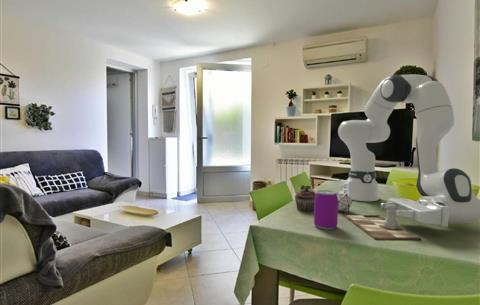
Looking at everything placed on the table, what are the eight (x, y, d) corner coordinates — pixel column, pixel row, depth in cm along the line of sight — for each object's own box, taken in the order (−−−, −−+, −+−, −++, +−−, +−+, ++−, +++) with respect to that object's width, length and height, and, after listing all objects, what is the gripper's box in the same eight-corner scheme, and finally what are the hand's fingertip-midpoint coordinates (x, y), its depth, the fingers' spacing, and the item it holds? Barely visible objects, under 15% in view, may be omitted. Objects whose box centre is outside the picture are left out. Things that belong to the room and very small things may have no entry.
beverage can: (313, 228, 97) (314, 193, 96) (314, 222, 104) (315, 189, 104) (337, 231, 95) (339, 194, 94) (336, 224, 102) (337, 190, 102)
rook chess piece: (380, 225, 100) (381, 202, 99) (392, 225, 100) (393, 202, 100) (388, 229, 95) (389, 205, 95) (401, 229, 96) (402, 205, 95)
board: (343, 215, 113) (343, 214, 113) (378, 216, 114) (378, 215, 114) (375, 239, 87) (375, 238, 87) (421, 240, 88) (421, 238, 88)
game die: (346, 221, 119) (357, 205, 113) (326, 212, 121) (335, 196, 114) (347, 206, 126) (358, 190, 120) (328, 198, 127) (338, 182, 121)
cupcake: (320, 212, 118) (321, 188, 118) (296, 212, 119) (297, 187, 118) (315, 206, 128) (315, 184, 127) (293, 206, 128) (293, 183, 128)
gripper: (411, 194, 108) (374, 193, 107) (452, 207, 87) (406, 207, 87) (410, 210, 108) (373, 210, 108) (451, 228, 88) (405, 228, 87)
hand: (388, 209), depth 97 cm, fingers open, 8 cm apart
